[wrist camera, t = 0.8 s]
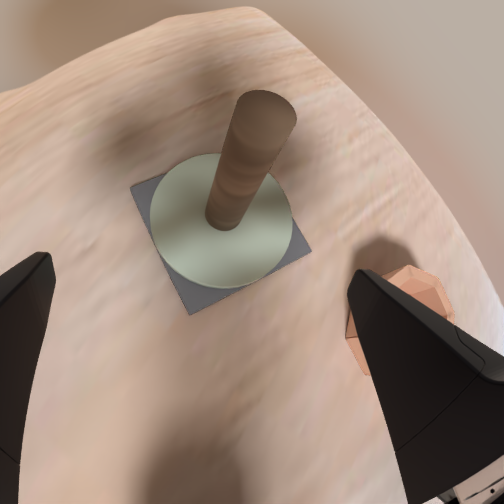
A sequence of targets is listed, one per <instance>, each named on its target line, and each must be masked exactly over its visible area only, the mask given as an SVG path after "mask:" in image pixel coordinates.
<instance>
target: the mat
mask: <svg viewBox="0 0 504 504" xmlns="http://www.w3.org/2000/svg"><path fill="white" fill-rule="evenodd" d="M166 174H167V173H166ZM166 174H163V175H161V176H158V177H156V178H153V179H151V180H148V181H146V182H143V183H141V184H138V185H136V186H133V187H131V188H130V190H131V193H132V195H133V197H134V200H135V202H136V204H137V207H138V209H139V211H140V214H141V216H142V218H143V220H144V223H145V225H146V227H147V229H148V231H149V234H150V236H151V238H152V240H153V236H152V231H151V224H150V207H151V202H152V198H153V195H154V193H155V190H156V188H157V187H158V185H159V183H160V182H161V180H162V179H163V178H164V176H165V175H166ZM153 242H154V240H153ZM154 244H155V242H154ZM155 247H156V245H155ZM156 249H157V247H156ZM157 251H158V249H157ZM310 252H312V250H311V249H310V247H309V245H308V243H307V242H306V240H305V238H304V237H303V235H302V233H301V231H300V230H299V228H298V226H297V225H296V223H295V221H294V220H293V218H292V235H291V239H290V243H289V246H288V248H287V250H286V252H285V254H284V256H283V257H282V259H281V260H280V261H279V263H278V264H277V265H276V266H275V267H274V268H273V269H272V270H270V271H269V272H268V273H267V274H266V275H264V276H263V277H265V276H267V275H269V274H271V273H273V272H275V271H277V270H279V269H280V268H282V267H284V266H286V265H288V264H290V263H292V262H294V261H295V260H297V259H299V258H301V257H303V256H305V255H307V254H309V253H310ZM158 253H159V251H158ZM159 255H160V253H159ZM160 257H161V259H162V261H163V263H164V265H165V268H166V270H167V272H168V274H169V276H170V278H171V280H172V282H173V284H174V286H175V288H176V290H177V292H178V294H179V296H180V298H181V300H182V302H183V303H184V305H185V307H186V309H187V311H188V313H189V315H191V314H193V313H195V312H197V311H199V310H201V309H203V308H205V307H207V306H209V305H211V304H213V303H215V302H217V301H219V300H221V299H223V298H225V297H227V296H229V295H231V294H233V293H235V292H237V291H238V290H240V289H242V288H244V287H246V286H248V285H250V284H252V283H250V284H248V285H245V286H241V287H237V288H230V289H217V288H209V287H205V286H201V285H198V284H196V283H193V282H191V281H189V280H187V279H185V278H184V277H182V276H181V275H179V274H178V273H177V272H175V271H174V270H173V269H172V268H171V267H170V266H169V265H168V264H167V263H166V262H165V260H164V259H163V258H162V256H161V255H160ZM263 277H262V278H263ZM260 279H261V278H260ZM260 279H258V280H260ZM258 280H257V281H258ZM255 282H256V281H255ZM253 283H254V282H253Z"/></svg>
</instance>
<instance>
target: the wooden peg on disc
mask: <svg viewBox="0 0 504 504" xmlns="http://www.w3.org/2000/svg"><path fill="white" fill-rule="evenodd" d="M296 120H297V117H296V113H295V110H294V108H293V107H292V105H291V104H290V103H289V102H288V101H287V100H286V99H284V98H283V97H281V96H280V95H278V94H276V93H273V92H270V91H265V90H252V91H249V92H246V93H244V94H243V95H242V96H240V98H239V99H238V101H237V104H236V107H235V110H234V113H233V116H232V120H231V123H230V126H229V129H228V133H227V136H226V139H225V142H224V146H223V149H222V152H221V153H212V154H204V155H199V156H195V157H192V158H190V159H187V160H185V161H183V162H181V163H180V164H178V165H177V166H175V167H174V168H173V169H171V170H170V171H169V172H168V173H167V174H166V175H165V176H164V178H163V179H162V180H161V182H160V183H159V185H158V187H157V188H156V190H155V193H154V195H153V198H152V202H151V207H150V224H151V231H152V236H153V240H154V242H155V245H156V247H157V249H158V251H159V253H160V255H161V256H162V258H163V259H164V260H165V262H166V263H167V264H168V265H169V266H170V267H171V268H172V269H173V270H174V271H175V272H177V273H178V274H179V275H181V276H182V277H184V278H185V279H187V280H189V281H191V282H193V283H196V284H198V285H201V286H205V287H209V288H217V289H230V288H237V287H241V286H245V285H248V284H250V283H253V282H255V281H257V280H258V279H260V278H262V277H263V276H264V275H266V274H267V273H268V272H269V271H270V270H272V269H273V268H274V267H275V266H276V265H277V264H278V263H279V261H280V260H281V259H282V257H283V256H284V254H285V252H286V250H287V248H288V246H289V243H290V239H291V235H292V213H291V209H290V205H289V202H288V199H287V197H286V195H285V193H284V191H283V189H282V188H281V187H280V185H279V184H278V182H277V181H276V180H275V179H274V178H273V177H272V176H271V175H270V174H269V173H268V171H269V170H270V168H271V166H272V164H273V163H274V161H275V159H276V157H277V156H278V154H279V152H280V150H281V149H282V147H283V145H284V143H285V142H286V140H287V138H288V137H289V135H290V133H291V131H292V130H293V128H294V126H295V124H296Z"/></svg>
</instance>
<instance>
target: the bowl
mask: <svg viewBox="0 0 504 504" xmlns="http://www.w3.org/2000/svg"><path fill="white" fill-rule="evenodd" d="M381 277H382V278H384V279H386V280H387V281H389V282H390V283H392V284H393V285H395V286H397V287H398V288H400V289H401V290H403V291H404V292H406V293H407V294H409V295H411V296H412V297H414V298H415V299H417V300H418V301H420V302H421V303H423V304H424V305H426V306H427V307H429V308H430V309H432V310H433V311H435V312H436V313H438V314H439V315H441V316H442V317H444V318H445V319H447V320H448V321H450V322H451V323H453V325H454V315H455V314H454V310H453V308H452V306H451V304H450V301H449V299H448V297H447V295H446V293H445V291H444V288H443V286H442V284H441V282H440V280H439V278H438V277H436V276H434V275H432V274H430V273H427V272H425V271H423V270H421V269H418V268H416V267H414V266H411V265H406V266H404V267H401V268H399V269H397V270H394V271H392V272H390V273H387V274H385V275H383V276H381ZM345 338H346V341H347V342H348V344H349V346H350V348H351V350H352V352H353V354H354V356H355V357H356V359H357V361H358V363H359V365H360V367H361V369H362V371H363V373H364V374H365V375H369V376H371V374H370V371H369V368H368V365H367V362H366V359H365V356H364V354H363V351H362V348H361V345H360V342H359V339H358V336H357V332H356V328H355V324H354V320H353V316H352V313H351V311H350V316H349V322H348V327H347V332H346V337H345Z"/></svg>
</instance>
